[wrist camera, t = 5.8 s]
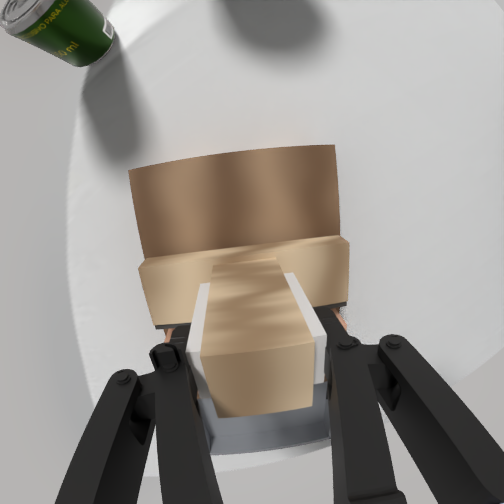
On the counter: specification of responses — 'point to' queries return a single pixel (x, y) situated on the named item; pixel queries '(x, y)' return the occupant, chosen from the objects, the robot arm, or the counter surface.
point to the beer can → (60, 28)
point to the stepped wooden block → (251, 316)
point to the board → (236, 200)
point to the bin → (267, 427)
